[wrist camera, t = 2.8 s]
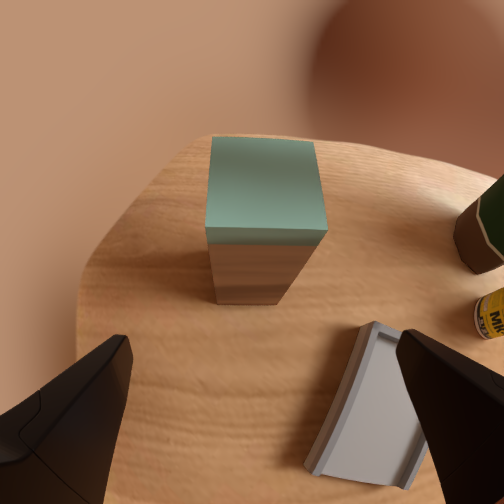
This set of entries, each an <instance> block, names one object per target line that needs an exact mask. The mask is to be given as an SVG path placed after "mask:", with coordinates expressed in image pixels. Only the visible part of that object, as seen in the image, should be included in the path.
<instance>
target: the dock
mask: <svg viewBox="0 0 504 504" xmlns="http://www.w3.org/2000/svg"><path fill="white" fill-rule="evenodd" d="M401 333H402V332H400V331H398V330H395V329H393V328H391V327H388V326H386V325H384V324H381V323H379V322H377V321H373V322H370V323H368V324H365V325H363V326H361V327H360V330H359V333H358V336H357V339H356V342H355V345H354V348H353V351H352V353H351V356H350V359H349V362H348V364H347V367H346V370H345V372H344V375H343V378H342V380H341V383H340V385H339V388H338V390H337V393H336V395H335V398H334V400H333V402H332V405H331V407H330V409H329V412H328V414H327V416H326V418H325V421H324V423H323V425H322V427H321V429H320V432H319V434H318V436H317V438H316V440H315V442H314V444H313V446H312V448H311V450H310V452H309V454H308V456H307V458H306V460H305V462H304V464H303V465H304V466H305V468H306V469H307V470H308V471H309V472H310V473H311V474H312V475H315V476H320V475H321V474H324V475H329V476H333V477H338V478H343V479H348V480H354V481H360V482H366V483H373V484H380V485H388V486H397V487H399V488H401V489H403V490H409V488H410V486H411V484H412V482H413V480H414V478H415V476H416V474H417V472H418V470H419V467H420V465H421V463H422V461H423V459H424V456H425V454H426V452H427V449H428V444H427V442H426V439H425V436H424V433H423V431H422V428H421V425H420V423H419V420H418V417H417V415H416V412H415V410H414V407H413V405H412V402H411V400H410V397H409V395H408V392H407V389H406V386H405V383H404V380H403V377H402V373H401V370H400V367H399V364H398V360H397V357H396V353H395V350H396V346H397V344H398V341H399V339H400V336H401Z"/></svg>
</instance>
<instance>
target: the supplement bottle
mask: <svg viewBox="0 0 504 504" xmlns="http://www.w3.org/2000/svg"><path fill="white" fill-rule="evenodd" d="M474 321H475V326H476V329H477V331H478V332H479V334H480V335H481V336H482V337H483V338H485V339H492V338H496V337H500V336H503V335H504V287H503V288H501V289H499V290H497V291H494V292H492V293H490V294H488V295H485V296H483V297H481V298H480V299H479V300H478V302H477V304H476V306H475V311H474Z"/></svg>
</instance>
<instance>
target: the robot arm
mask: <svg viewBox="0 0 504 504" xmlns="http://www.w3.org/2000/svg"><path fill="white" fill-rule="evenodd" d="M395 353H396V357H397V360H398V364H399V367H400V370H401V373H402V377H403V380H404V383H405V386H406V389H407V392H408V395H409V397H410V400H411V402H412V405H413V407H414V410H415V412H416V415H417V417H418V420H419V423H420V425H421V428H422V431H423V433H424V436H425V439H426V442H427V444H428V447H429V450H430V453H431V456H432V459H433V462H434V465H435V468H436V471H437V474H438V477H439V481H440V483H441V488H442V491H443V495H444V498H445V502H446V504H504V376H502V375H500V374H498V373H496V372H494V371H492V370H490V369H488V368H487V367H485V366H483V365H481V364H479V363H477V362H475V361H473V360H472V359H470V358H468V357H466V356H464V355H462V354H460V353H458V352H457V351H455V350H453V349H451V348H449V347H447V346H445V345H443V344H441V343H440V342H438V341H436V340H434V339H432V338H430V337H428V336H426V335H424V334H423V333H421V332H419V331H417V330H415V329H408V330H404V331H403V332H402V333H401V336H400V339H399V341H398V344H397V346H396V350H395ZM132 365H133V354H132V350H131V346H130V342H129V339H128V337H127V336H126V335H119V334H115V335H113V336H112V337H110V338H109V339H108V340H106V341H105V342H103V343H102V344H101V345H99V346H98V347H96V348H95V349H94V350H92V351H91V352H90V353H88V354H87V355H85V356H84V357H83V358H81V359H80V360H79V361H77V362H76V363H74V364H73V365H72V366H70V367H69V368H68V369H66V370H65V371H64V372H62V373H61V374H59V375H58V376H57V377H55V378H54V379H53V380H51V381H50V382H49V383H47V384H46V385H45V386H43V387H42V388H40V390H38V391H36V392H35V393H34V394H32V395H31V396H30V397H28V398H27V399H25V400H24V401H22V402H21V403H20V404H18V405H16V406H15V407H13V408H12V409H10V410H8V411H7V412H5V413H4V414H2V415H0V504H103V502H104V496H105V491H106V486H107V481H108V476H109V471H110V467H111V462H112V458H113V453H114V449H115V445H116V441H117V437H118V433H119V429H120V425H121V421H122V417H123V413H124V410H125V406H126V401H127V396H128V389H129V383H130V376H131V370H132Z"/></svg>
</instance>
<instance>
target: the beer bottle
mask: <svg viewBox="0 0 504 504" xmlns="http://www.w3.org/2000/svg"><path fill="white" fill-rule="evenodd" d="M453 237H454V240H455V243H456V245H457V248H458V251H459V254H460V257H461V260H462V261H463V262H464V263H465V264H467V265H468V266H469V267H470V268H471V269H472V270H473V271H474V272H475V273H476V274H482V273H485V272H488V271H491V270H494V269H496V268H498V267H500V266H502V265H504V175H503V176H502V177H500V178H499V179H498V180H497V181H496V182H495V183H494V184H493V185H492V186H491V187H490V188H489V189H488V190H487V191H486V192H484V193H483V194H482V195H481V196H480V197H479V198H478V199H477V200H476V201H475V202H473V203H472V204H471V205H470V206H469V207H468V208H467V209H466V210H465V211H464V212H463V213H462V214H461V215H460V216H459V217H458V219H457V223H456V227H455V232H454V236H453Z"/></svg>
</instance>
